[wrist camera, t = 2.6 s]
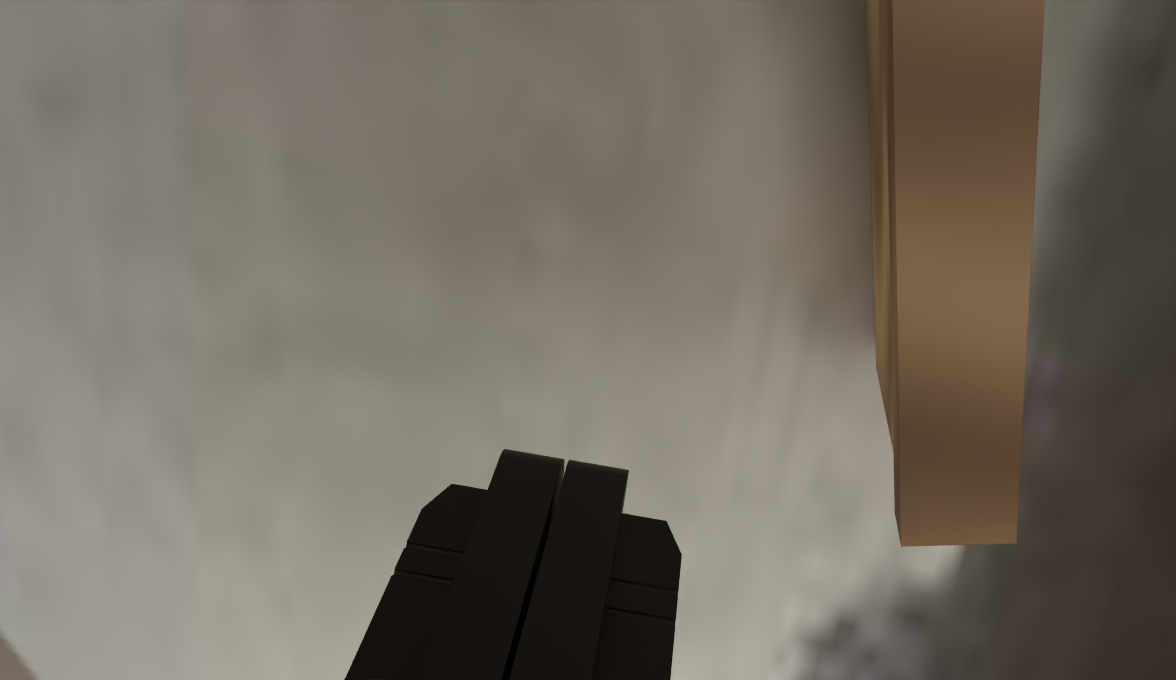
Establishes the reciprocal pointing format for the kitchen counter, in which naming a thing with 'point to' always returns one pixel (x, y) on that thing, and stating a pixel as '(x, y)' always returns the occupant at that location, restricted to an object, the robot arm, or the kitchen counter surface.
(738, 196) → the kitchen counter surface
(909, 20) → the gate
